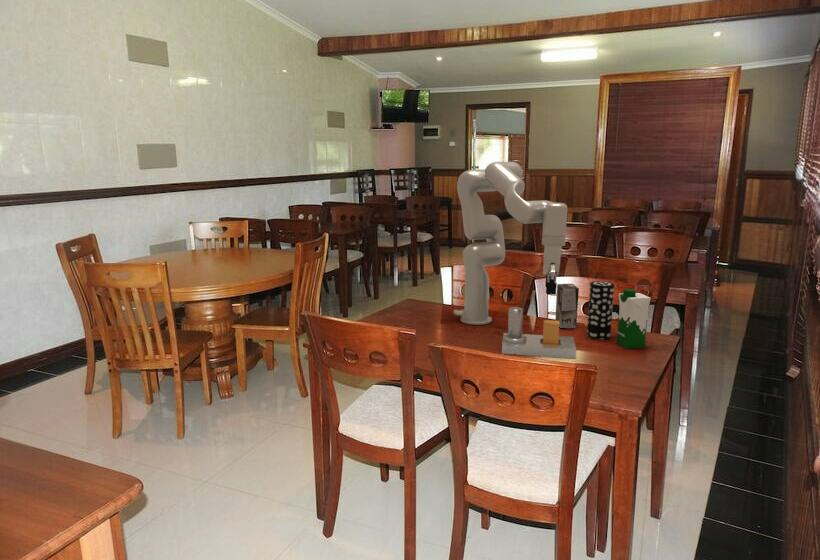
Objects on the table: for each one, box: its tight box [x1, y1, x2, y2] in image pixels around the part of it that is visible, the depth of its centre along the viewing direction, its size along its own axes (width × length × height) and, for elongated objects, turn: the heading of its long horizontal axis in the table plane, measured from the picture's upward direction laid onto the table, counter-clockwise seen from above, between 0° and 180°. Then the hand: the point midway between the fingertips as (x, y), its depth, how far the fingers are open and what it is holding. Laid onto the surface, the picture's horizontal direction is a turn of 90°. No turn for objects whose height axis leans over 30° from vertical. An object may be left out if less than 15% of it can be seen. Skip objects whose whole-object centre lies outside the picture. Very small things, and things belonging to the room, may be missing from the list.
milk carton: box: [615, 288, 652, 350], centre depth 198 cm, size 9×9×20 cm
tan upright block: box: [542, 319, 560, 345], centre depth 194 cm, size 5×4×10 cm
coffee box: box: [554, 283, 580, 329], centre depth 222 cm, size 9×6×16 cm
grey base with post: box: [501, 306, 577, 359], centre depth 195 cm, size 24×14×14 cm, turn 78°
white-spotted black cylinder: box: [586, 280, 615, 341], centre depth 208 cm, size 8×8×20 cm
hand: (550, 290), depth 193 cm, fingers open, 9 cm apart
